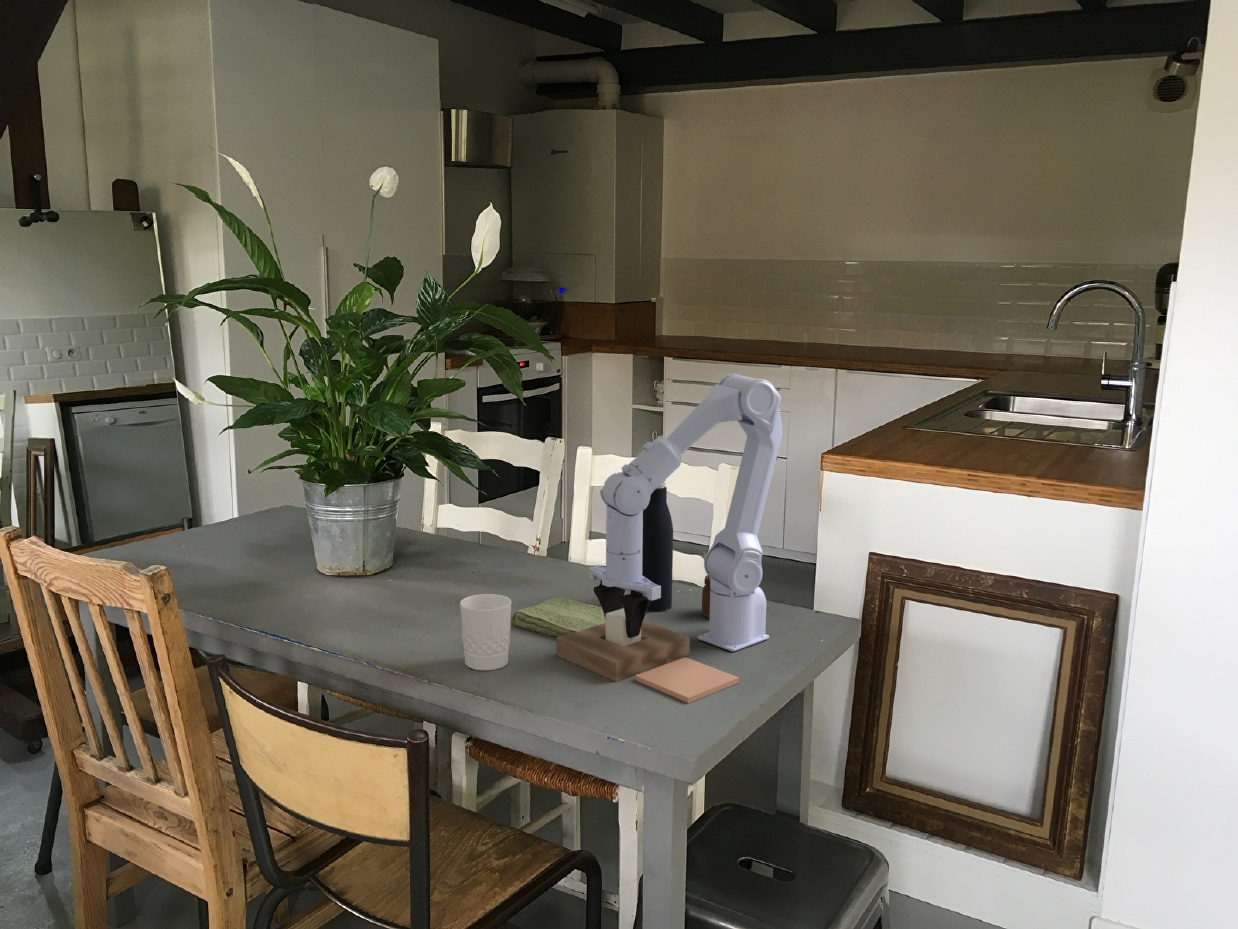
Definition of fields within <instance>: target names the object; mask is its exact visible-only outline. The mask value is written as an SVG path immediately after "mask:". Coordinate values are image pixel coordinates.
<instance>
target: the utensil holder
mask: <svg viewBox="0 0 1238 929" xmlns="http://www.w3.org/2000/svg"><path fill="white" fill-rule="evenodd" d="M706 554H707V552H704V551H702V556H703V557H702V558H703V560H704V559H705V556H706ZM710 579H711V577H710V576H709V575H708V574H707V575H706V576H704V586H703V587H702V590H701V591H702V592H701V613H702V615H703V616H704V617H705V618H707V619H710Z"/></svg>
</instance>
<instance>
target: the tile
mask: <svg viewBox="0 0 1238 929" xmlns="http://www.w3.org/2000/svg"><path fill="white" fill-rule="evenodd" d="M634 680H635V682H638V683H641V684H643V685H645V686H648V687H650V688H652V689H655V690H658V691H659V692H661V693H664V694H666V695H669V696H671V697H674V698H676V699H678V700H679V701H683V702H685V703H687V704H690V703H692V702H695V701H697V700H700V699H702V698H705V697H706V696H710V695H712V694H714V693H717V692H720V691H722V690H724V689H727V688H729V687H732V686H734V685H736V684H737V685H738V684H739V683H740V677H738V676H736V675H734V674H731V673H727V672H725V671H723V670H720V669H717V668H715V667H713V666H709V665H707V664H705V663H703V662H699V661H696V660H695V659H691V658H689V657H688V656H686V657H683V658H681V659H678V660H675V661H672V662H670V663H667V664H664V665H661V666H659V667H656V668H653V669H650V670H647V671H645V672H642V673H639V674H636V675H634Z"/></svg>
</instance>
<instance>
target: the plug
mask: <svg viewBox="0 0 1238 929" xmlns="http://www.w3.org/2000/svg"><path fill="white" fill-rule="evenodd" d="M606 640H607V641H609V642H612V643H614V644H617V645H619V646H622V647H623V646H626V645H629V644H632V643H635V642H638V641H641V630H640V634H639V636H636V637H633V638H629V637H627V633H626V618H625V612H624V608H622V609H619V610H616V611H613V612H609V613H606Z"/></svg>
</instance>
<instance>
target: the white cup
mask: <svg viewBox="0 0 1238 929" xmlns="http://www.w3.org/2000/svg"><path fill="white" fill-rule="evenodd" d="M459 606H460V607H459V609H460V621H461V622H460V623H461V635H462V646H463V649H464V651H463V654H464V665H465V666H467V668H469V667H470V669H471V668H472V670H474V671H475V670H476V671H495V670H498V669H501V668H504V667H505V666H506V665H508V663H509V648H510V646H511V645H510V644H511V642H510V640H511V627H512V626H511V624H512V623H511V622H512V599H511V598H510V597H508V596H506V595H502V594H493V593H483V594H482V593H480V594H474V595H469V596H466V597H464V598H463V599H461V601H460V602H459Z"/></svg>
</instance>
